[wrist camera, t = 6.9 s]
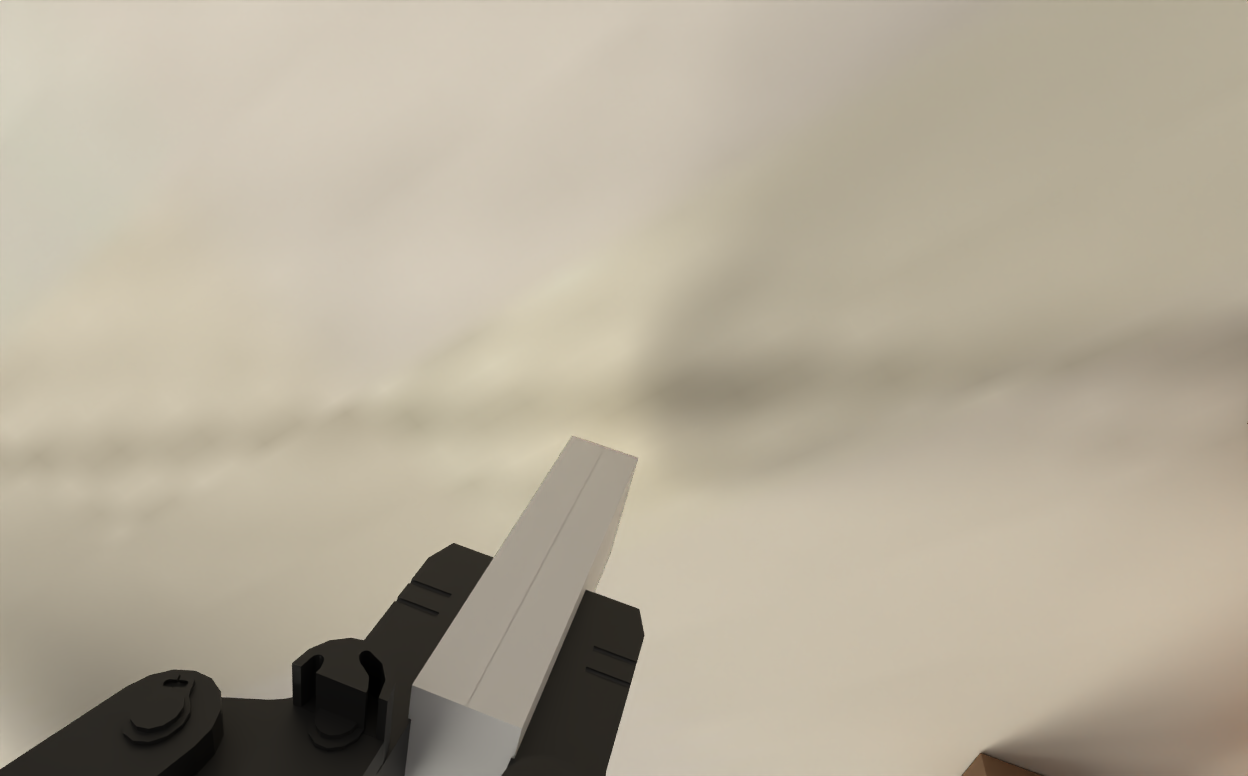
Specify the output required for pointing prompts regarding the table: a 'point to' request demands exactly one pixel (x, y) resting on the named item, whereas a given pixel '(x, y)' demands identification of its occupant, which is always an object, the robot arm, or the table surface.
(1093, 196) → the table surface
